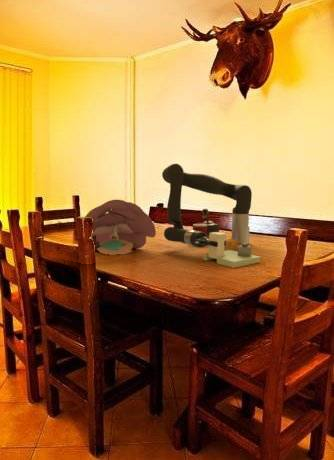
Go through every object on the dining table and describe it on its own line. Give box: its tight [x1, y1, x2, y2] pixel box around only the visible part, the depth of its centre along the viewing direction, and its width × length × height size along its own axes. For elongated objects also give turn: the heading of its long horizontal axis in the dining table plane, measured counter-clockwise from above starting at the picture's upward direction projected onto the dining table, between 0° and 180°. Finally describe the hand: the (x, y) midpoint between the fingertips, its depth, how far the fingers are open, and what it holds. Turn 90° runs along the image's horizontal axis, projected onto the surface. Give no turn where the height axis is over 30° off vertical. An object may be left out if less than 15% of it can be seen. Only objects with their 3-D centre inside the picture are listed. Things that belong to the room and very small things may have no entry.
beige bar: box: [208, 231, 227, 260], centre depth 158 cm, size 4×6×11 cm
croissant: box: [224, 237, 249, 252], centre depth 182 cm, size 21×10×8 cm, turn 105°
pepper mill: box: [199, 208, 220, 236], centre depth 220 cm, size 16×11×18 cm
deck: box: [203, 243, 261, 269], centre depth 159 cm, size 17×18×8 cm
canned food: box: [192, 223, 207, 235], centre depth 201 cm, size 8×8×11 cm
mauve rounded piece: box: [84, 199, 157, 256], centre depth 178 cm, size 35×24×28 cm
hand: (221, 243), depth 157 cm, fingers closed on beige bar, 4 cm apart
